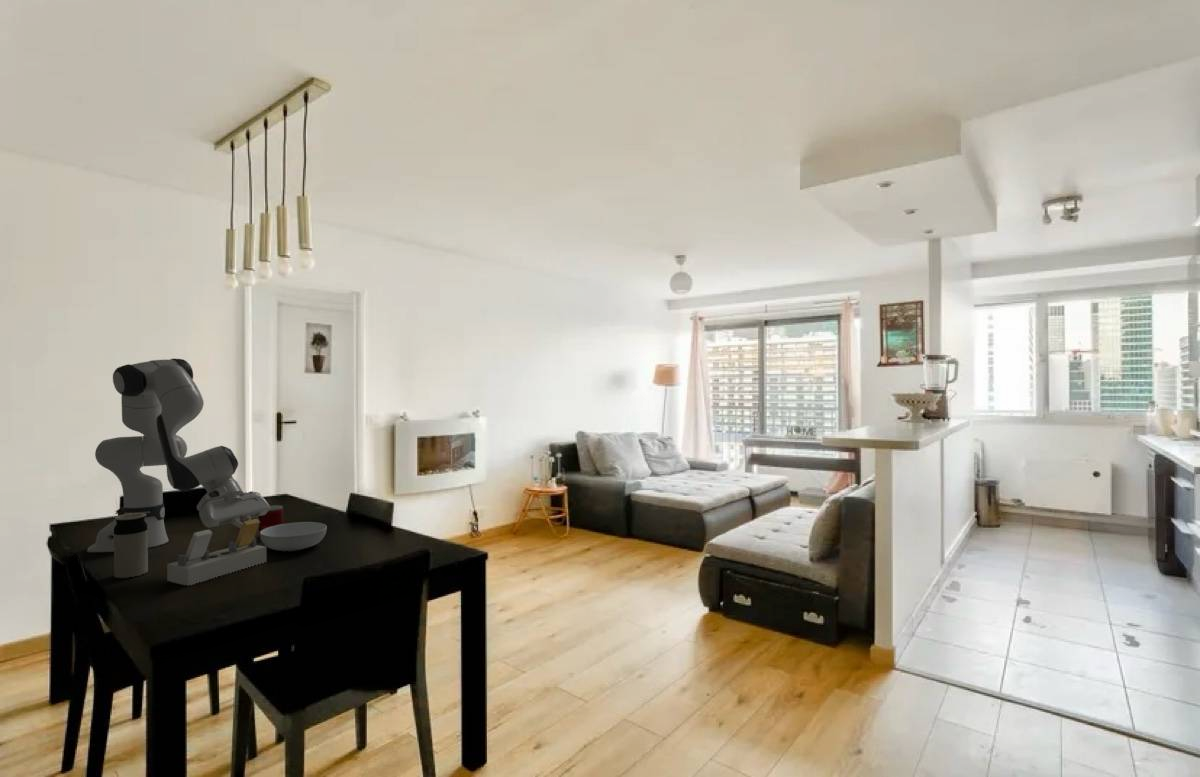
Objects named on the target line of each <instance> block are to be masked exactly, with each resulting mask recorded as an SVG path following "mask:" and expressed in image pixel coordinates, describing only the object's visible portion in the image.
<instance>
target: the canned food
mask: <svg viewBox="0 0 1200 777" xmlns="http://www.w3.org/2000/svg"><path fill="white" fill-rule="evenodd" d="M269 506H270V508H269V510H268V512H267V513H266V514H265V515H262V516H258V520H259V521H260V524H259V526H258V537H259V538H260V531H262V530H263V529H265V528H268V527H271V526H275V525H280V524H284V506H283V505H278V504H274V505H269Z"/></svg>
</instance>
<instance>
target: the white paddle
mask: <svg viewBox="0 0 1200 777" xmlns="http://www.w3.org/2000/svg"><path fill="white" fill-rule="evenodd" d="M212 535H213V532H212V530H211V529H206V530H205V529H204V530H201V531H197V532H193V535H192V537H191V540H190V542H189V545H188V548H187V550H186V554H185V556H187V562H188V561H192V560H196V559H199V558H203V557H204V554H205V552H206V549H207V550H208V547H209V544H210V541H211V539H212Z"/></svg>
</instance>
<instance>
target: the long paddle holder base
mask: <svg viewBox="0 0 1200 777" xmlns="http://www.w3.org/2000/svg"><path fill="white" fill-rule="evenodd" d="M185 555H186V554H185ZM185 555H184V554H178V555H177V561H174V562H171V563H170V562H169V563H167V564H166V567H167V568H166V569H167V570H166V572H167V573H166V574H167V575H166V576H167V578H166V580H167V582H169V581H170V583H174V584H179V585H182V586H186V585H187V587H188V586H189V585H190V586H192V585H193V586H194V585H196V583H197V584H199V582H200V583H203V582H207V581H209V579H210V580H213V579H216V578H219V577H218V576H220V577H223V576H225V574H226V575H229V574H232V572H233V573H235V571H236V572H239V571H242V570H241V569H243V570H246V569H249V568H251V566H252V567H255V566H254V565H256V566H258V564H259V565H262V564H264V562H265V563H267V547H266V546H265V545H258V544H257V537H255V536H254V538H253V541H252V543H251V545H248V546H244V547H240V548H237V543H236V541H229V542H228V547H227V548H223V549H218V550H216V551H212V552H210V549H208V548H207V549H206V552H205V554H204V557H203V558H199V559H196V560H192V561H188V562H187V556H185ZM261 563H262V564H261ZM248 567H249V568H248ZM245 568H246V569H245ZM238 570H239V571H238ZM228 573H229V574H228ZM222 575H223V576H222ZM215 577H216V578H215ZM212 578H213V579H212ZM190 586H189V587H190Z"/></svg>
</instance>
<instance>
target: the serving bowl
mask: <svg viewBox="0 0 1200 777" xmlns="http://www.w3.org/2000/svg"><path fill="white" fill-rule="evenodd" d="M327 528H328V527H327V525H326V524H325V523H321V522H316V521H315V522H314V521H299V522H289V523H288V522H287V523H283V524H280V525H275V526H271V527H268V528H265V529H263V530H262V531H260V537H259V538H260V540H261V542H262V543H263V546H264V547H266V548H268V549H271V550H273V551H274V550H275V551H280V552H286V551H288V552H296V551H297V550H298V551H302V549H303V550H306V549H308V548H310V547H313V546H316V545H317V544H319V543H320V542H321V541H322V540H323V539H324V538H325V536H326V534H327ZM305 548H306V549H305Z"/></svg>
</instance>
